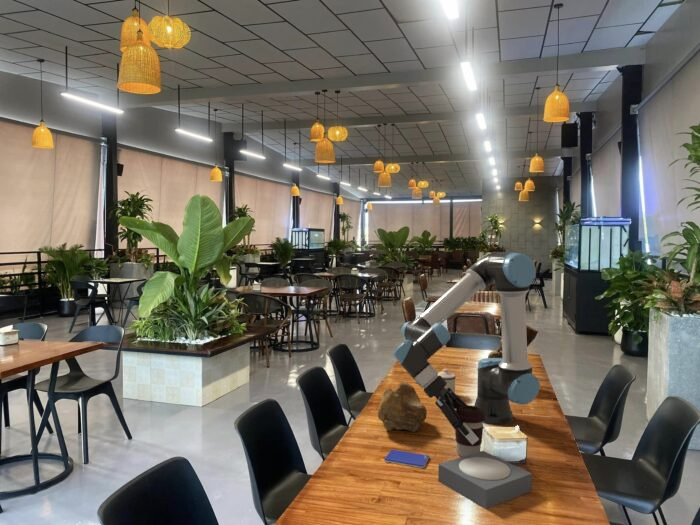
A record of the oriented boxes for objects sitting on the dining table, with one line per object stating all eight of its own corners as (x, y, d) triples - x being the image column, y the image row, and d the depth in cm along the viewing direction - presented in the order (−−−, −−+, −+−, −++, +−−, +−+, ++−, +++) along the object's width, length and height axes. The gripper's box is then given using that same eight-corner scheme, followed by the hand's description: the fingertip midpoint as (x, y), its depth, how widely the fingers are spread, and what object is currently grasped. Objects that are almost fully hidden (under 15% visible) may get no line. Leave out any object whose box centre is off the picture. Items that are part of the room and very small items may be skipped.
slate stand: (482, 466, 160) (482, 449, 160) (531, 491, 145) (531, 472, 145) (438, 481, 151) (438, 463, 150) (485, 508, 135) (486, 488, 135)
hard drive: (429, 454, 166) (392, 448, 171) (423, 465, 159) (384, 458, 163) (429, 459, 166) (391, 453, 171) (423, 470, 159) (384, 463, 163)
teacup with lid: (457, 394, 234) (458, 368, 233) (451, 399, 226) (452, 373, 225) (432, 390, 239) (432, 365, 239) (425, 395, 231) (425, 369, 231)
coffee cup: (446, 453, 170) (447, 408, 169) (463, 445, 176) (464, 401, 176) (473, 463, 162) (474, 415, 162) (490, 454, 169) (491, 408, 169)
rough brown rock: (413, 444, 179) (418, 401, 178) (369, 431, 187) (374, 390, 186) (435, 425, 200) (439, 386, 199) (394, 414, 207) (398, 377, 206)
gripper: (431, 380, 185) (475, 430, 179) (413, 398, 164) (463, 456, 159) (446, 366, 182) (491, 417, 177) (430, 383, 162) (481, 441, 156)
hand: (478, 436), depth 168 cm, fingers closed on coffee cup, 10 cm apart
